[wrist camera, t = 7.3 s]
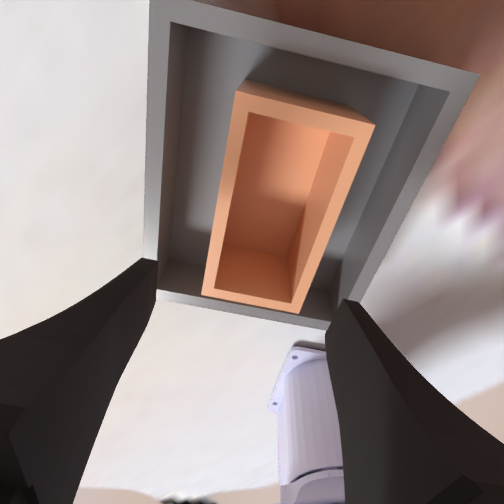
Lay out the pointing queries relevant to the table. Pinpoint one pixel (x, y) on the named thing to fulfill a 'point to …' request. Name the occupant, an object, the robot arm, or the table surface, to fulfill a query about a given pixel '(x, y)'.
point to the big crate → (298, 80)
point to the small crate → (280, 193)
